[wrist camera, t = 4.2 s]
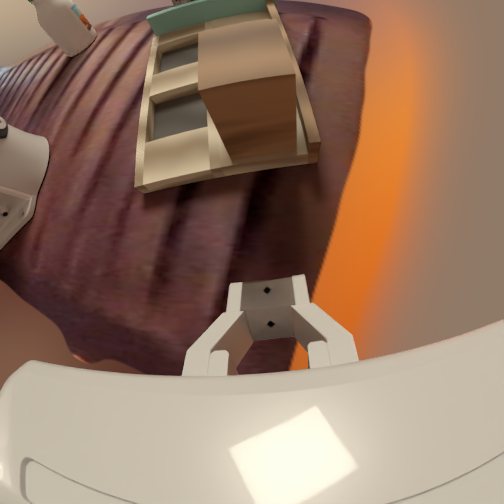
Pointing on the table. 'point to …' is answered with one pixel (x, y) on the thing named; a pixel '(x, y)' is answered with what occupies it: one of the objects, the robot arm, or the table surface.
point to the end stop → (201, 13)
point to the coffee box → (180, 2)
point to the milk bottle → (65, 25)
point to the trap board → (202, 116)
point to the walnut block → (249, 88)
